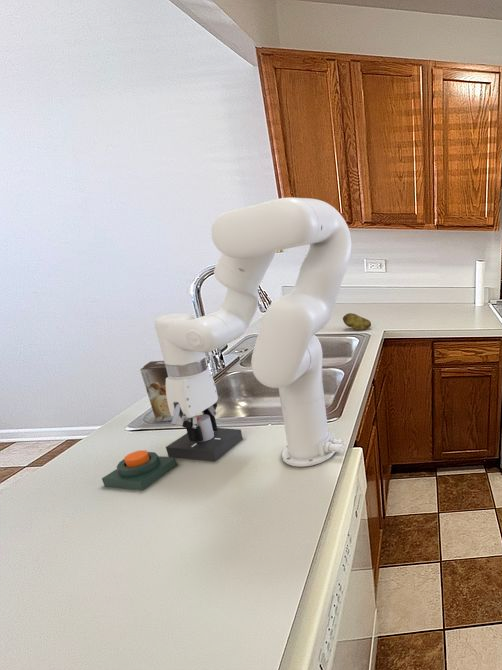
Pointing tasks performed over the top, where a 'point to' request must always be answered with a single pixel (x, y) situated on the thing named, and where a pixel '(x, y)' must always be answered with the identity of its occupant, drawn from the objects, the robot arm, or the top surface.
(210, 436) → the timer knob
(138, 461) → the button
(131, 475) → the block
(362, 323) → the potato
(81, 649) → the top surface
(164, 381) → the food box
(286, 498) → the top surface
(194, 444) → the timer panel
